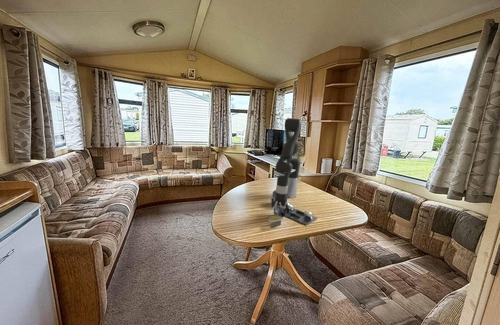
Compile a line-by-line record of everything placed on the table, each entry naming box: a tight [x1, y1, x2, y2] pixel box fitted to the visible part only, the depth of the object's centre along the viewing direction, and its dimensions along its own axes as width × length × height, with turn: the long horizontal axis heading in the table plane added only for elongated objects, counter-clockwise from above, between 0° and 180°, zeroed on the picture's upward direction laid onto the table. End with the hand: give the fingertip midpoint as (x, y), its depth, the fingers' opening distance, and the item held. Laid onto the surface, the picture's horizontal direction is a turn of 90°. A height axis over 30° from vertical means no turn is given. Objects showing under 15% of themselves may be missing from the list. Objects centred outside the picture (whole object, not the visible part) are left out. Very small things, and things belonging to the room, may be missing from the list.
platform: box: [268, 215, 284, 228], centre depth 131 cm, size 12×18×7 cm, turn 122°
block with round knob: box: [273, 206, 283, 217], centre depth 144 cm, size 7×4×7 cm, turn 135°
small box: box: [271, 189, 288, 203], centre depth 163 cm, size 11×6×10 cm, turn 65°
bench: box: [284, 204, 318, 226], centre depth 146 cm, size 21×14×6 cm, turn 45°
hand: (278, 215), depth 144 cm, fingers open, 5 cm apart
